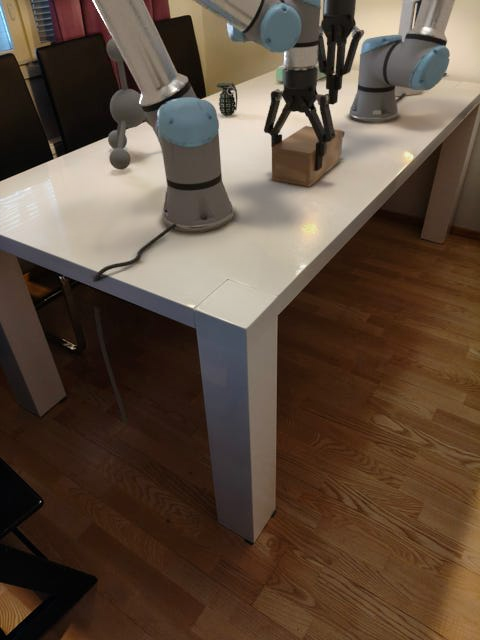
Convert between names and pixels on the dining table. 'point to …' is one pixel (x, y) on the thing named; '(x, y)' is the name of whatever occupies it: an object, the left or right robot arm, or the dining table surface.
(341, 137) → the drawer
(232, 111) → the grenade
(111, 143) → the molecular model
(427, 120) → the dining table surface
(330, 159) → the brown wooden box
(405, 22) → the electronic device
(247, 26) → the left robot arm
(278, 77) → the decorative block
